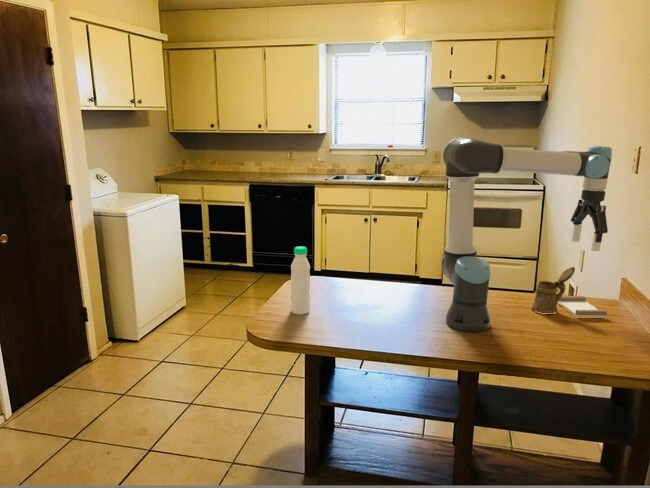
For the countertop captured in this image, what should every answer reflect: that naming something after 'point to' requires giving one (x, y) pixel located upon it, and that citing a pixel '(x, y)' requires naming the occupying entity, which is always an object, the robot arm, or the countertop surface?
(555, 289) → the wooden mug
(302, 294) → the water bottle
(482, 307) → the robot arm
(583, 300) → the ledge board
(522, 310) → the countertop surface
